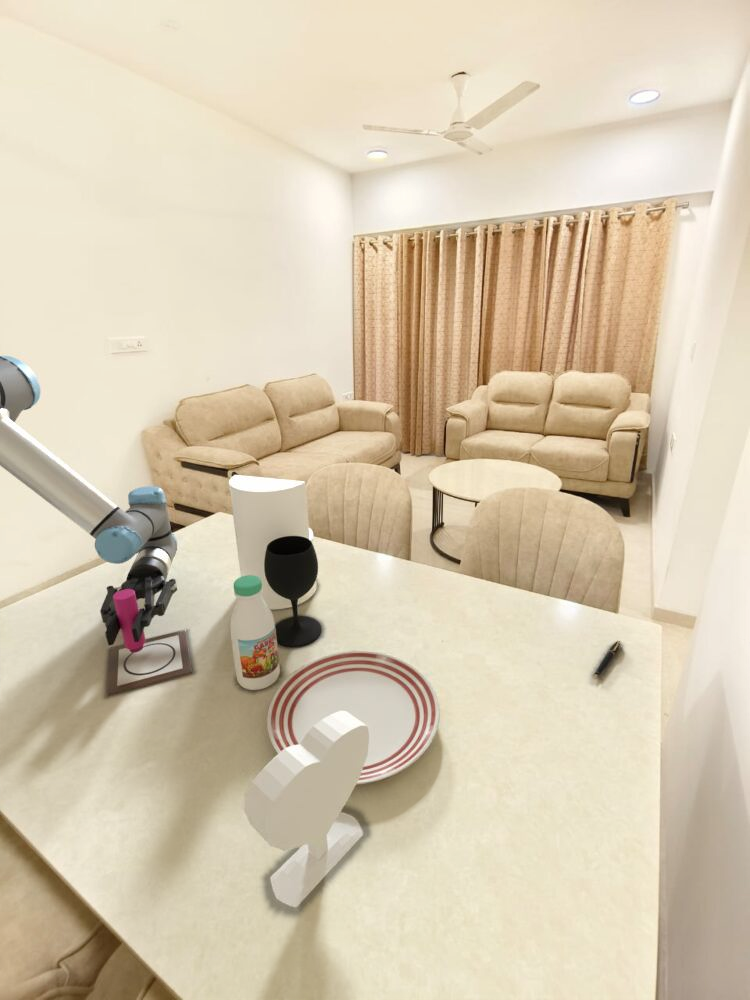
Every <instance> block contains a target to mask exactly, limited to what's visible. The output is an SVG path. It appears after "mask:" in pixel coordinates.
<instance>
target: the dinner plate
mask: <svg viewBox="0 0 750 1000" xmlns="http://www.w3.org/2000/svg"><path fill="white" fill-rule="evenodd" d="M440 710H441V707H440V702H439V697H438V694H437V692H436V689H435V688H434V686H433V685H432V683H431V682H430V680H429V679H428V677H427V676H426V675H425V674H424V673H423V672H421V670H419V669H418V668H417V667H416V666H414V665H412V664H411V663H409V662H408V661H406V660H404V659H401V658H399V657H397V656H394V655H392V654H388V653H385V652H381V651H374V650H354V649H353V650H345V651H338V652H337V651H336V652H333V653H330V654H325V655H323V656H322V655H321V657H318V658H315V659H313V660H310V661H309V662H307V663H305V664H303V665H301V667H298V668H297V669H295V671H293V672H292V673H291V674H290V675H289V676H287V677H286V678H285V680H284V681H282V683H281V684H280V685H279V687H278V689H277V690H276V692H274V695H273V696H272V698H271V701H270V704H269V707H268V710H267V717H266V726H267V733H268V737H269V740H270V743H271V745H272V747H273V749H274V751H275V752H276V755H277V754H279V753H280V752H281V751H282V750H283V749H285V748H287V747H289V746H293V745H298V744H300V743H301V742H302V740H303V739H304V737H305V736H306V734H307V733H308V732H309V730H310V729H311V728H312V727H313V726H314V725H315V724H317V723H318V722H319V721H321V720H322V719H324V718H326V717H327V716H329V715H331V714H333V713H336V712H338V711H347V712H348V713H350V714H351V715H352V716H354V717H355V718H357V719H358V720H360V721H361V722H362V723H364V724H365V725H367V727H368V732H369V746H368V755H367V758H366V761H365V764H364V766H363V769H362V772H361V775H360V778H359V780H358V781H357V783H356V785H357V786H359V785H365V784H370V783H375V782H378V781H381V780H384V779H387V778H389V777H393V776H395V775H396V774H399V773H400V772H402V771H404V770H405V769H407V768H409V767H410V766H411V765H413V764H414V763H415V762H417V760H419V759H420V758H421V756H422V755H423V754H424V753H425V752H427V750H428V748H429V747H430V745H431V744H432V742H433V741H434V739H435V736H436V734H437V732H438V728H439V724H440V716H441V711H440ZM356 785H355V786H356Z"/></svg>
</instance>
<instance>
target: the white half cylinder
mask: <svg viewBox="0 0 750 1000" xmlns="http://www.w3.org/2000/svg"><path fill="white" fill-rule="evenodd" d="M228 486H229V494H230V502H231V511H232V519H233V526H234V533H235V534H234V535H235V541H236V548H237V550H236V551H237V557H238V566H239V572H240V573H239V575H240V577H242V576H247V575H254V576H257V577H259V578H260V579H261V582H262V593H261V594H262V597H263V599H264V601H265V602H266V604H267V605H268V607H269V608H270V610H283V609H288V608H292V604H291V601H290V600H289V599H286V598H283V597H281V596H280V595H278V594H277V593H275V592H274V591H273V590H272V588H271V587H270V586H269V584H268V582H267V580H266V577H265V571H264V560H265V553H266V549H267V545H268V544H269V543H270V542H271V541H273V540H275V539H277V538H281V537H285V536H301V537H305V538H308V539H309V540H311V542H312V544H313V546H314V547H315V542H314V532H313V530H312V528H310V526H309V510H308V508H309V507H308V495H307V494H308V493H307V481H304V480H295V479H294V480H293V479H283V478H273V477H262V476H254V475H243V474H233V475H232V476H231V477H230V478H229V480H228ZM316 591H317V580H316V581H315V583H314V585H313V587H312V588H311V589H310V590H309V591H308V592H307V593H306V594H305V595H304V596H302V597H301V598H299V599H298V603H297V606H298V605H301V604H303V603H304V602H306V601H308V600H309V599H311V597H313V596H314V595H315V593H316Z"/></svg>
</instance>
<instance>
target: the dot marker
mask: <svg viewBox="0 0 750 1000" xmlns="http://www.w3.org/2000/svg"><path fill="white" fill-rule="evenodd" d="M113 600H114V604H115V608H116V612H117V616H118V620H119V624H120V632H121V637H122V641H123V645H125V648H127V649H129V650H130V652H132V653H135V652H139V651H141V650H142V649H143V645H144V644H145V642H146V640H145V639H146V635H145V632H144V630H143V632H142V635H141V638H140V640H139V642H134V638H133V633H132V627H133V624H134V622H135V619H136V617H137V614H138V612H139V609H140V608H139V606H138V605H139V604H138V600H137V599H136V595H135V591H134V590H132V589H124V590H121V591H118V592H116V593H115V594H114V595H113Z"/></svg>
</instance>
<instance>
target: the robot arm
mask: <svg viewBox="0 0 750 1000" xmlns="http://www.w3.org/2000/svg"><path fill="white" fill-rule="evenodd" d="M40 384H41V383H39V380H38V377H37V375H36V373H35V372H34V370H32V369H31V368H30V366H28V365H27V364H26V363H25V362H24V361H21V360H20V359H18V358H16V357H13V356H9V355H0V467H1V468H3V469H4V470H5V471H7V472H8V473H9V474H11V475H12V476H13V477H14V478H16V479H17V480H18V481H20V482H21V483H22V484H24V485H25V486H26V487H27V488H29V489H30V490H31V491H33V493H35V494H37V495H38V496H39V497H40V498H41V499H43V500H44V501H45V502H47V503H48V504H49V505H50V506H52V507H54V509H56V510H57V511H58V512H60V513H61V514H63V515H64V516H65V517H66V518H67V519H69V520H70V521H72V522H73V523H74V524H75V525H77V526H78V527H80V528H81V529H82V530H83V531H84V532H86V533H87V534H89V535H90V536H91V537H92V538H93V539H94V540H95V541H94V549H95V551H96V553H97V555H98V557H99V558H101V559H102V561H105V562H107V563H109V564H114V565H115V564H118V565H119V564H123V563H126V562H128V561H130V560H131V559H132V558H134V556H135V555H136V557H135V559H134V561H133V562H132V565H131V567H130V569H129V571H128V572H127V575H126V580H125V581H123V582H122V583H121V585H120V586H118V587H116V586H115V587H114V586H113V585H108V586H107V587H106V592H107V593H106V595H105V597H104V601H103V603H102V605H101V608H100V610H99V612H100V616H101V620H102V623H104V625H105V633H104V634H105V637H106V641H107V645H108V646H109V647H110V646H114V644H115V643H116V639H117V637H118V635H119V633H120V631H121V628H120V624H119V620H118V616H117V612H116V608H115V604H114V600H113V595H114V594H115V593H116V592H118V591H121V590H124V589H132V590H134V591H135V595H136V599H137V601H138V600H140V599H144V603H143V607H142V608H139V612H138V614H137V617H136V619H135V622H134V624H133V627H132V633H133V638H134V642H139V640H140V638H141V635H142V632H143V631H144V629H145V628H147V627H150V626H151V623H152V620H153V618H154V617H155V616H157V617H163V616H164V615H165V613H166V611H167V609H168V607H169V606H168V605H169V604H170V601H171V599H172V596H173V595H174V594H175V593H176V592H177V591H178V587H177V581H176V579H175V578H170V579H169V580H167V579H168V575H169V572H170V570H171V567H172V563H173V560H174V558H175V556H176V554H177V552H178V539H177V537H176V536H175V534H174V533H173V531H172V528H171V522H170V517H169V510H168V501H167V500H166V495H165V492H164V490H163V489H162V488H161V487H158V486H155V485H154V486H153V485H150V486H149V485H148V486H141V487H137V488H135V489H132V490H131V491H130V492H129V493H128V496H127V498H128V505H129V508H128V509H126V510H125V511H124V509H122V508H121V507H119V506H118V505H117V504H116V503H114V502H113V501H112V500H111V499H109V498H108V497H107V496H106V495H104V494H103V493H102V492H101V491H100V490H98V489H97V488H96V487H94V485H93V484H91V483H89V482H88V481H87V480H86V479H85V478H83V477H82V476H81V475H79V474H78V473H77V472H76V471H75V470H73V469H72V468H71V467H70V466H69V465H68V464H66V463H65V462H64V461H62V460H61V458H59V457H57V456H56V455H55V454H54V453H52V452H51V451H50V450H49V449H47V448H46V447H45V446H44V445H43V444H41V443H40V442H39V441H38V440H37V439H36V438H34V437H32V436H31V435H30V434H29V433H28V432H26V431H25V429H23V428H21V427H20V426H19V425H18V424H17V423H16V421H17V419H18V418H19V416H20V415H21V413H22V412H23V411H28V410H30V409H32V407H34V406H35V405H36V404H37V403H38V402H39V400H40V397H41V385H40ZM158 593H159V595H158V597H157V600H156V602H155V596H156V594H158Z"/></svg>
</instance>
